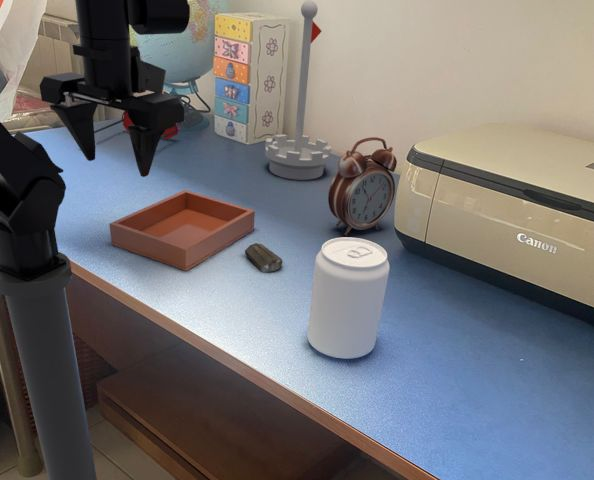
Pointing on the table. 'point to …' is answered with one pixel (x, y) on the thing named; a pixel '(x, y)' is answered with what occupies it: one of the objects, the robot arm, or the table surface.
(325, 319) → the beverage can
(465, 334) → the table surface
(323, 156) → the flag stand
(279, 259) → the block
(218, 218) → the desk tray
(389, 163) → the alarm clock
